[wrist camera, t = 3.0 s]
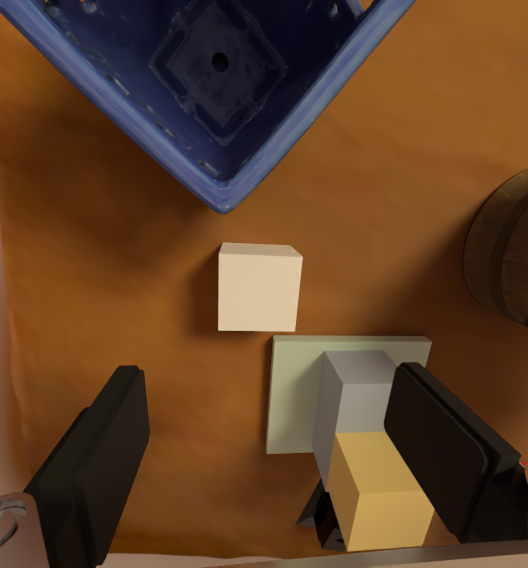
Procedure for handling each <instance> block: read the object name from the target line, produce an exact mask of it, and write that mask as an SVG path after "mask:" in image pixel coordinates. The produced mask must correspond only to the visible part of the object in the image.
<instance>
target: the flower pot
mask: <svg viewBox="0 0 528 568" xmlns="http://www.w3.org/2000/svg"><path fill="white" fill-rule="evenodd" d="M415 1H416V0H374V1H373V2H372V4H371V5H370V6H369V7H368V8H367V10H366V11H365V10H364V9H363V7H362V5H361V3H360V1H359V0H84V1H83V2H81V1H80V0H48V1H47V2H45V0H0V13H1V14H2V15H3V16H4V17H5V18H6V19H7V20H8V21H9V22H10V23H11V24H12V25H13V26H14V27H15V28H16V29H17V30H18V31H19V32H20V33H21V34H22V35H23V36H24V37H25V38H26V39H27V40H28V41H29V42H30V43H31V44H32V45H33V46H34V47H35V48H36V49H37V50H38V51H39V52H40V53H41V54H42V55H43V56H44V57H45V58H46V59H47V60H48V61H49V62H50V63H51V64H52V65H53V66H54V67H55V68H56V69H58V70H59V71H60V72H61V73H62V74H63V75H64V76H65V77H66V78H67V79H68V80H69V81H70V82H71V83H72V84H73V85H74V86H75V87H76V88H77V89H78V90H79V91H80V92H81V93H82V94H83V95H84V96H86V97H87V98H88V99H89V100H90V101H91V102H92V103H93V104H94V105H95V106H96V107H97V108H98V109H99V110H100V111H101V112H102V113H104V114H105V115H106V116H107V117H108V118H109V119H110V120H111V121H112V122H113V123H114V124H115V125H117V126H118V127H119V128H120V129H121V130H122V131H123V132H124V133H125V134H126V135H127V136H129V137H130V138H131V139H132V140H133V141H134V142H135V143H136V144H137V145H138V146H140V147H141V148H142V149H143V150H144V151H145V152H146V153H147V154H148V155H150V156H151V157H152V158H153V159H154V160H155V161H156V162H157V163H158V164H159V165H161V166H162V167H163V168H164V169H165V170H166V171H167V172H168V173H170V174H171V175H172V176H173V177H174V178H175V179H177V180H178V181H179V182H180V183H181V184H182V185H183V186H185V187H186V188H187V189H188V190H189V191H190V192H192V193H193V194H194V195H195V196H196V197H198V198H199V199H200V200H201V201H202V202H204V203H205V204H206V205H207V206H209V207H210V208H211V209H213V210H214V211H216V212H217V213H219V214H227V213H229V212H230V211H232V210H233V209H234V208H235V207H236V206H238V205H239V204H240V203H241V202H242V201H243V200H244V199H245V198H246V197H247V196H248V195H249V194H250V193H251V192H252V191H253V190H254V189H255V188H256V187H257V186H258V185H259V184H260V183H261V182H262V181H263V179H264V178H265V177H266V176H267V175H268V174H269V173H270V172H271V171H272V170H273V169H274V167H275V166H276V165H277V164H278V163H279V162H280V161H281V160H282V158H283V157H284V156H285V155H286V154H287V153H288V152H289V151H290V149H291V148H292V147H293V146H294V145H295V143H296V142H297V141H298V140H299V139H300V138H301V137H302V135H303V134H304V133H305V132H306V131H307V130H308V129H309V127H310V126H311V125H312V124H313V123H314V121H315V120H316V119H317V118H318V117H319V115H320V114H321V113H322V112H323V111H324V109H325V108H326V107H327V106H328V105H329V104H330V102H331V101H332V100H333V99H334V98H335V96H336V95H337V94H338V93H339V91H340V90H341V89H342V88H343V86H344V85H345V84H346V83H347V82H348V80H349V79H350V78H351V77H352V75H353V74H354V73H355V72H356V71H357V69H358V68H359V67H360V66H361V65H362V64H363V62H364V61H365V60H366V59H367V58H368V56H369V55H370V54H371V53H372V52H373V50H374V49H375V48H376V47H377V46H378V44H379V43H380V42H381V41H382V40H383V39H384V37H385V36H386V35H387V34H388V33H389V31H390V30H391V29H392V28H393V27H394V26H395V24H396V23H397V22H398V21H399V20H400V19H401V17H402V16H403V15H404V14H405V13H406V12H407V11H408V9H409V8H410V7H411V6H412V5H413V4H414V2H415ZM336 5H337V10H336ZM337 11H338V12H337Z"/></svg>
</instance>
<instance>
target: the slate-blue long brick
mask: <svg viewBox="0 0 528 568" xmlns="http://www.w3.org/2000/svg"><path fill="white" fill-rule="evenodd" d="M396 367H398V366H397V365H396V364H395V363H394V362H393V361H392V360H391V359H390V358H389V356H388V355H387V354H386V353H385V352H384V351H324V359H323V366H322V374H321V381H320V389H319V396H318V403H317V411H316V418H315V426H314V433H313V440H312V448H313V451H314V455H315V458H316V462H317V465H318V468H319V472H320V475H321V479H322V482H323V485H324V489H325V492H329V490H328V487H327V479H328V473H329V467H330V461H331V455H332V449H333V443H334V437H335V433H358V432H385V429H384V418H385V413H386V409H387V405H388V400H389V396H390V391H391V387H392V383H393V378H394V374H395V370H396Z"/></svg>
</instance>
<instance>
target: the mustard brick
mask: <svg viewBox="0 0 528 568" xmlns="http://www.w3.org/2000/svg"><path fill="white" fill-rule="evenodd" d="M327 487H328V490H329V493H330V497H331V500H332V503H333V507H334V510H335V513H336V516H337V520H338V523H339V526H340V530H341V533H342V536H343V539H344V543H345V546H346V549H347V551H360V550H373V549H386V548H399V547H412V546H422V545H423V542H424V539H425V536H426V533H427V530H428V527H429V525H430V522H431V519H432V516H433V513H434V510H435V509H434V507H433V506H432V504H431V503H430V501H429V499H428V498H427V496H426V495H425V493H424V492H423V490H422V488H421V487H420V485H419V484H418V482H417V481H416V479H415V477H414V476H413V474H412V473H411V471H410V470H409V468H408V466H407V465H406V463H405V462H404V460H403V459H402V457H401V455H400V454H399V452H398V451H397V449H396V448H395V446H394V444H393V443H392V441H391V440H390V438H389V437H388V435H387V433H386V432H358V433H335V437H334V443H333V449H332V455H331V461H330V467H329V473H328V479H327Z"/></svg>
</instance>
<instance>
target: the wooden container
mask: <svg viewBox="0 0 528 568" xmlns="http://www.w3.org/2000/svg"><path fill="white" fill-rule="evenodd" d="M463 269H464V276H465V280H466V283H467V286H468V288H469V290H470V292H471V293H472V295H473V296H474V297H475V299H476V300H477V301H478V302H479V303H480V304H482V305H483V306H485V307H486V308H488V309H490V310H492V311H494V312H496V313H498V314H500V315H503V316H505V317H507V318H509V319H511V320H513V321H516V322H518V323H521V324H523V325H524V326H526V327H528V169H527V170H525V171H523V172H521V173H519V174H518V175H516V176H514V177H513V178H512V179H510V180H509V181H507V182H506V183H505V184H504V185H502V186H501V187H500V188H499V189H498V190H497V191H496V192H495V193H494V194H493V195H492V196H491V197H490V198H489V199H488V200H487V202H486V203H485V204H484V206H483V207H482V209H481V210H480V211H479V213H478V215H477V216H476V218H475V220H474V222H473V224H472V227H471V229H470V231H469V234H468V237H467V240H466V244H465V249H464V255H463Z"/></svg>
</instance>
